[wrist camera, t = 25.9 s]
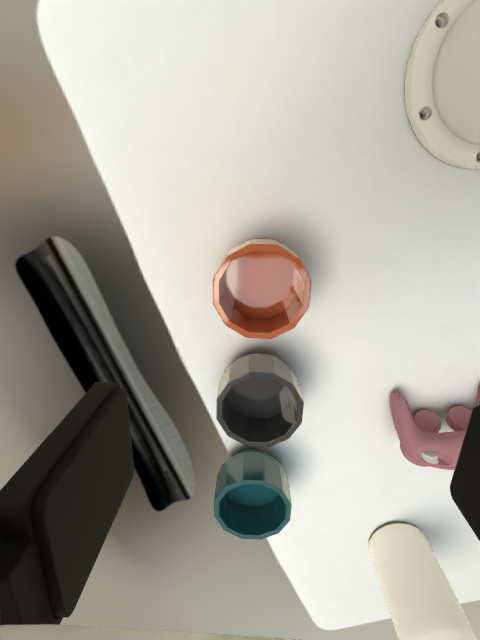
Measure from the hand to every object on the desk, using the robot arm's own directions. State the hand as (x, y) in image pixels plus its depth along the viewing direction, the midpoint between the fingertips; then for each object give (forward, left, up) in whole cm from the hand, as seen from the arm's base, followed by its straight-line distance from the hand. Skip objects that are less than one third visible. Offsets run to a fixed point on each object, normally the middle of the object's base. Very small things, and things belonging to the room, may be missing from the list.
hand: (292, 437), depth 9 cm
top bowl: (+21, 0, -22) cm, 31 cm away
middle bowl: (0, 0, -22) cm, 22 cm away
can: (+31, +17, -23) cm, 42 cm away
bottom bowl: (+11, 0, -22) cm, 25 cm away
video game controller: (+13, +18, -23) cm, 31 cm away
